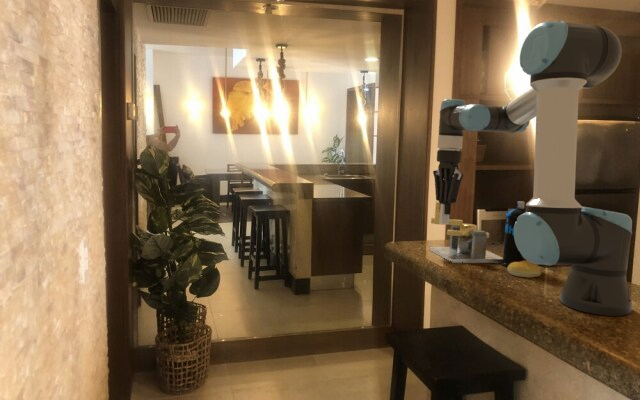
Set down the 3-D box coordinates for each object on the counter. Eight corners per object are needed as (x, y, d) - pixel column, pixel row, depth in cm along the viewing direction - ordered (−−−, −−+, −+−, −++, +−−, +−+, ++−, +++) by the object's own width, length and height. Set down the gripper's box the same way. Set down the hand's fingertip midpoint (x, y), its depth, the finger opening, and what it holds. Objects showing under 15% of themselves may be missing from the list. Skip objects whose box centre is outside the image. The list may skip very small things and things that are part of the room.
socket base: (505, 262, 168) (508, 232, 167) (452, 263, 164) (454, 232, 163) (478, 250, 185) (480, 223, 184) (429, 250, 182) (431, 222, 181)
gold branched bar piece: (489, 239, 170) (492, 206, 169) (430, 235, 173) (432, 202, 172) (487, 236, 176) (490, 204, 174) (430, 232, 179) (432, 200, 178)
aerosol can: (525, 263, 168) (531, 200, 165) (533, 270, 160) (539, 204, 157) (498, 262, 169) (504, 199, 166) (505, 268, 160) (510, 202, 158)
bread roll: (501, 272, 156) (502, 259, 156) (524, 270, 160) (525, 257, 160) (522, 279, 149) (523, 265, 148) (546, 277, 153) (547, 263, 152)
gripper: (472, 151, 162) (466, 227, 165) (447, 149, 174) (442, 220, 177) (452, 150, 159) (446, 227, 162) (427, 148, 171) (422, 221, 174)
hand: (443, 224), depth 169 cm, fingers closed
